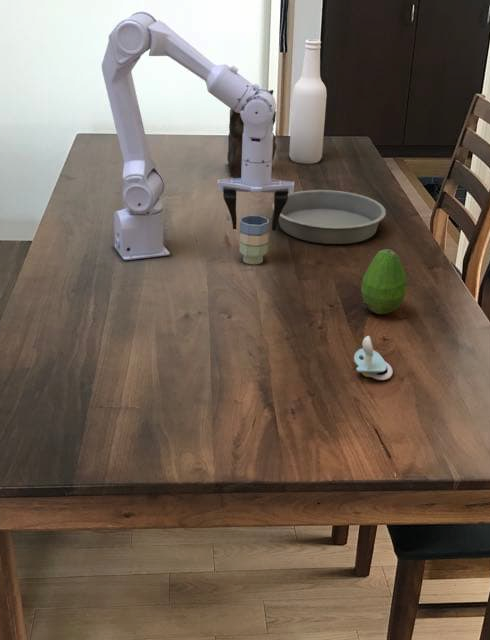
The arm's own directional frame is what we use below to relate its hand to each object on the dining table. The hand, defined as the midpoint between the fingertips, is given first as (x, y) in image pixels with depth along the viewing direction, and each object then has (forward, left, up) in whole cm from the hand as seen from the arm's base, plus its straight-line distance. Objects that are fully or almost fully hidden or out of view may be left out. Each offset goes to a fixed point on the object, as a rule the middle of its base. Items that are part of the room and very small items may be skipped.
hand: (254, 228), depth 175 cm
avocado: (+13, -29, -7) cm, 33 cm away
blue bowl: (0, 0, -2) cm, 2 cm away
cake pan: (+23, +13, -7) cm, 27 cm away
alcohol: (+40, +61, -7) cm, 73 cm away
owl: (+21, +56, -7) cm, 60 cm away
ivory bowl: (0, 0, -5) cm, 5 cm away
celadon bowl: (0, 0, -7) cm, 7 cm away
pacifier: (+1, -48, -7) cm, 48 cm away
